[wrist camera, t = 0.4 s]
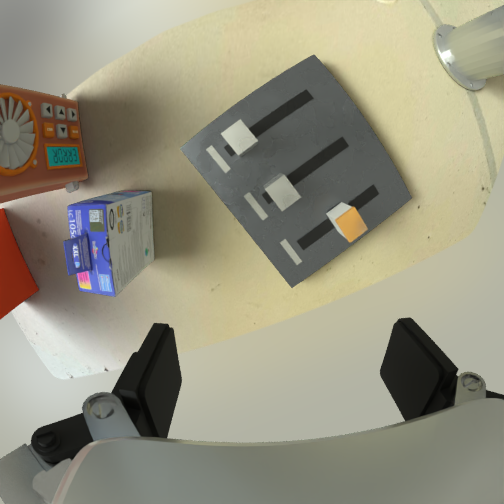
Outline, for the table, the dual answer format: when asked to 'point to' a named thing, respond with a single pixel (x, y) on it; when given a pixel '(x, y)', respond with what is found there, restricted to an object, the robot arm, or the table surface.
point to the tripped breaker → (347, 221)
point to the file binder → (12, 271)
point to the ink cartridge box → (110, 240)
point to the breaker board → (297, 167)
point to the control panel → (38, 143)
